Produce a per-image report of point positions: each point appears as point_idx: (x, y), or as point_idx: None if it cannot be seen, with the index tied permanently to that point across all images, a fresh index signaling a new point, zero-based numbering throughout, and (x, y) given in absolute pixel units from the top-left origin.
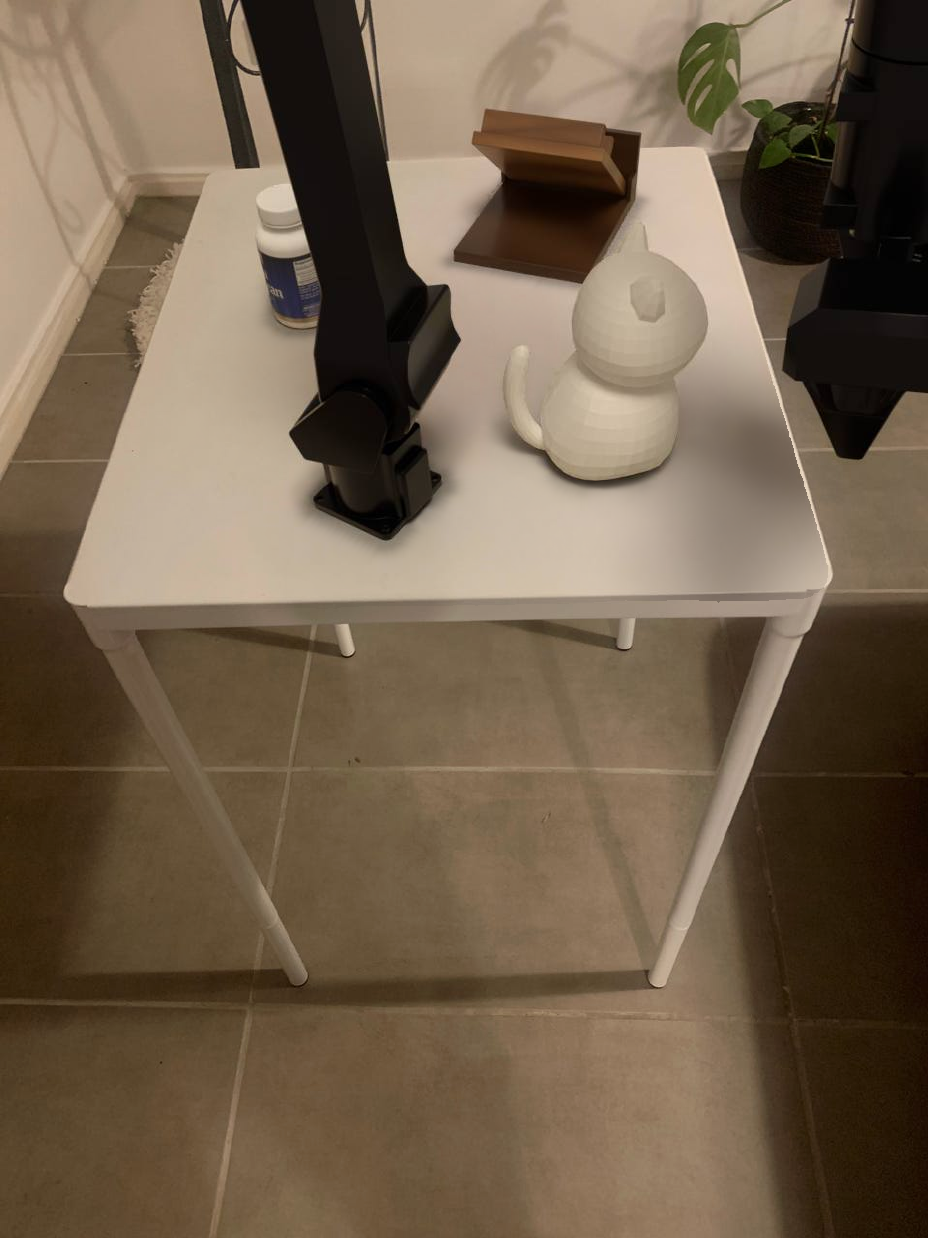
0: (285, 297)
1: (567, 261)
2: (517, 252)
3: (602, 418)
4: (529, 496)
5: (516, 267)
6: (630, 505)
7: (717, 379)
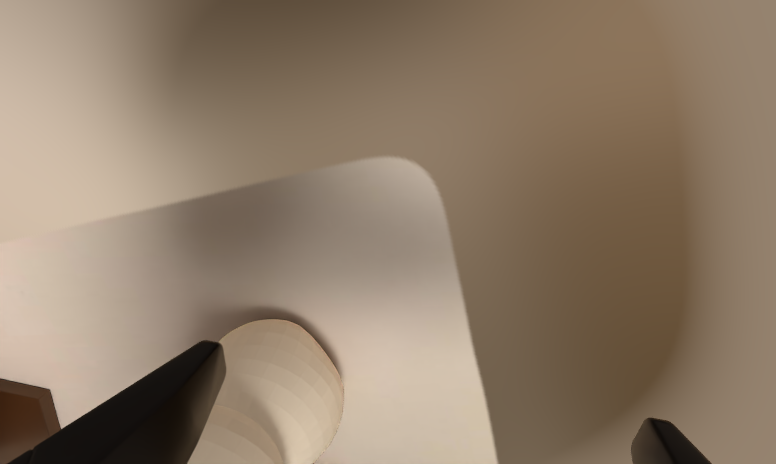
0: None
1: (30, 417)
2: None
3: (314, 447)
4: (367, 419)
5: None
6: (355, 339)
7: (135, 266)
